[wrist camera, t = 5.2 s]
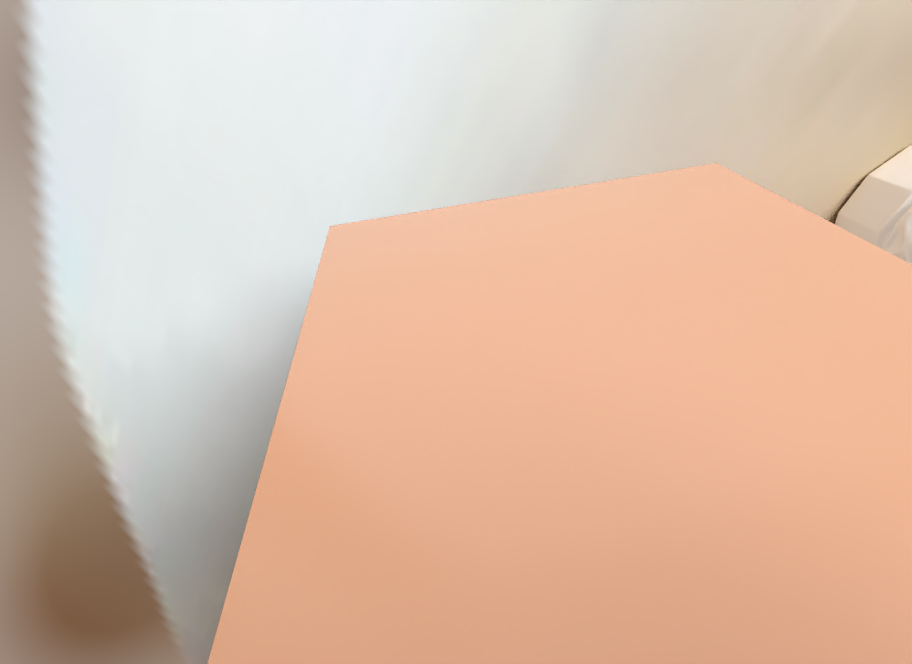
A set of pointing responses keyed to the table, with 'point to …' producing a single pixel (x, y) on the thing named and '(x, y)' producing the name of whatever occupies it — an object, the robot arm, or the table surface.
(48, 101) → the table surface
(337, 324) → the peach rectangular block
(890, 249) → the white cup
